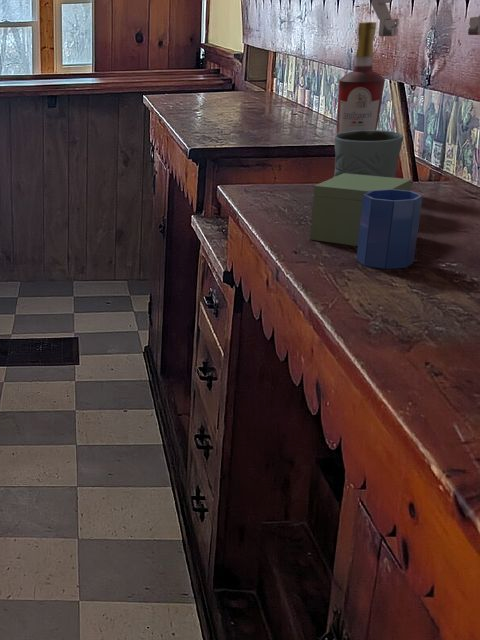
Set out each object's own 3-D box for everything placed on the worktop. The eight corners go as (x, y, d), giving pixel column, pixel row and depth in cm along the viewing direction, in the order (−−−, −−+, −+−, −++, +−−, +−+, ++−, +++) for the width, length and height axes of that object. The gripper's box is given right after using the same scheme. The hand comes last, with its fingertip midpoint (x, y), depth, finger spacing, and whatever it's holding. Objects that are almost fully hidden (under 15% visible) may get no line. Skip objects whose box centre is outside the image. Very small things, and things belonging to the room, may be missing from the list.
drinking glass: (386, 201, 145) (395, 128, 141) (401, 216, 136) (411, 139, 132) (323, 202, 147) (329, 130, 143) (333, 217, 138) (341, 141, 133)
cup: (419, 259, 116) (428, 192, 112) (400, 271, 111) (409, 202, 108) (369, 251, 120) (377, 187, 117) (350, 263, 116) (357, 197, 112)
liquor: (373, 185, 157) (392, 20, 146) (371, 194, 151) (390, 22, 140) (330, 183, 160) (346, 22, 149) (327, 192, 154) (342, 24, 143)
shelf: (404, 233, 127) (411, 179, 124) (378, 249, 121) (384, 192, 118) (338, 224, 134) (343, 173, 131) (309, 239, 127) (314, 185, 124)
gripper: (338, -96, 95) (327, 38, 100) (551, -120, 81) (525, 36, 87) (362, -95, 99) (349, 34, 104) (568, -118, 85) (542, 31, 91)
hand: (431, 35), depth 95 cm, fingers open, 8 cm apart
